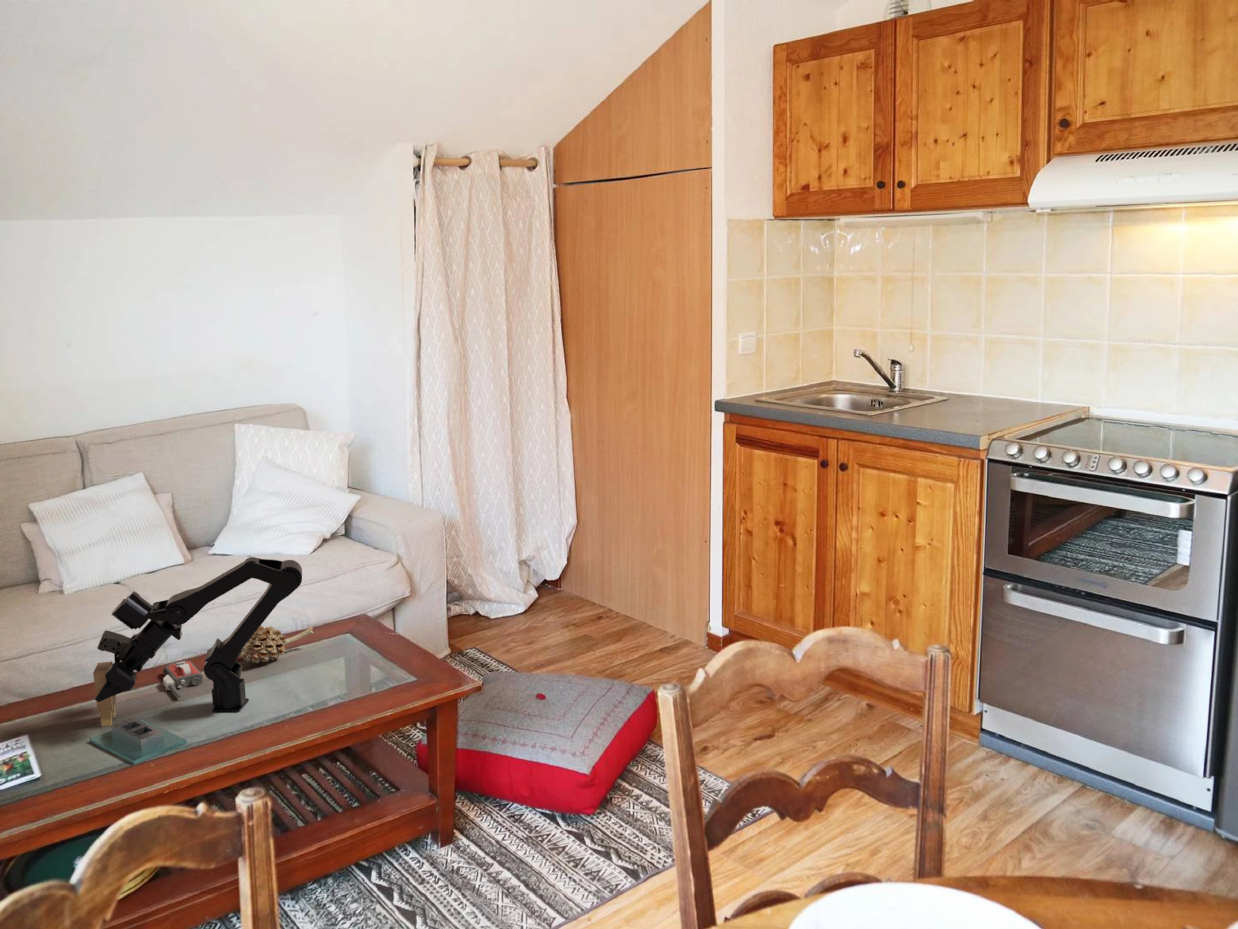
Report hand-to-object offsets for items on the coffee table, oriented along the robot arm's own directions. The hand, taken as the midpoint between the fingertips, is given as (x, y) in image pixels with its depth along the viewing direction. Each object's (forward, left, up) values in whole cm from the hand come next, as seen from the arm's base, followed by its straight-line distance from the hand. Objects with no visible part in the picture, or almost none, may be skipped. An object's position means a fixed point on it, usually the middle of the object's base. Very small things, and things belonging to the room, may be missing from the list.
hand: (100, 692), depth 243 cm
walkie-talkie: (-9, -22, -8) cm, 25 cm away
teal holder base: (-13, +11, -7) cm, 18 cm away
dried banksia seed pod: (-26, -39, -7) cm, 48 cm away
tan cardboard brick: (-1, 0, -7) cm, 7 cm away
